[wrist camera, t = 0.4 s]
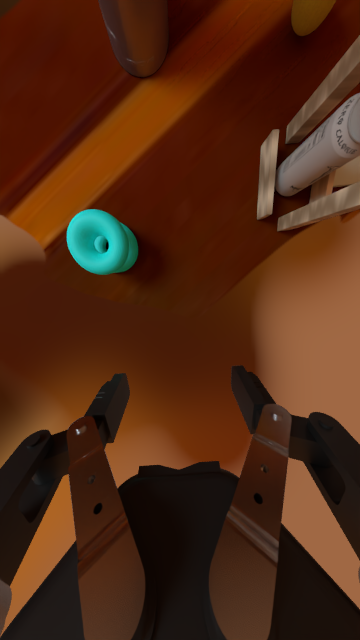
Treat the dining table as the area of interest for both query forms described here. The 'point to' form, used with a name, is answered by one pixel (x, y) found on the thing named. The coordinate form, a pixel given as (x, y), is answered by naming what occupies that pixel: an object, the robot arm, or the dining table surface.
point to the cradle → (323, 203)
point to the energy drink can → (322, 150)
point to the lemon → (309, 14)
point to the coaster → (348, 173)
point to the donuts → (101, 242)
